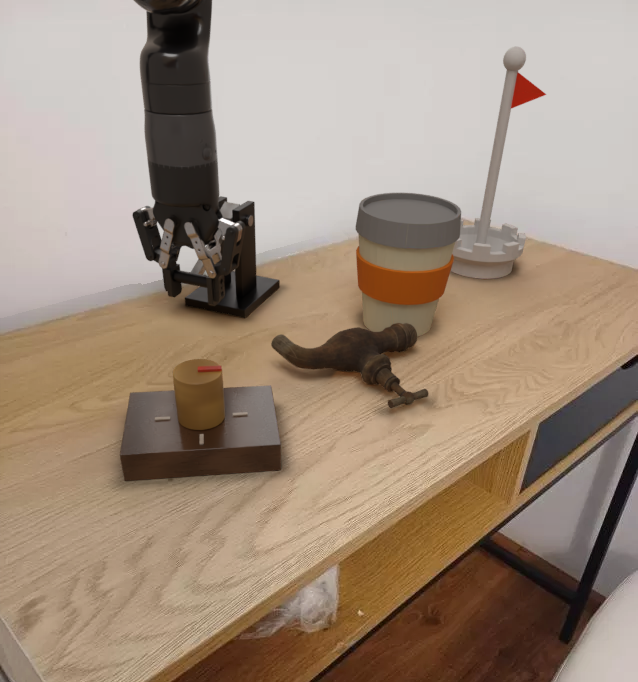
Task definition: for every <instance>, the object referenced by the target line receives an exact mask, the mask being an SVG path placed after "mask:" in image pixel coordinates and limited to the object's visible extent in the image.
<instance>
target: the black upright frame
mask: <svg viewBox="0 0 638 682" xmlns="http://www.w3.org/2000/svg"><path fill="white" fill-rule="evenodd" d="M224 202H228V197H227V196H221V195H219V202H218V206H219V209H221V207H222V206H223V204H224ZM255 205H256V203H255V201H253V200H247V201H245V202H243V203H241V204H240V206H238V207H236V208H235V209H233V210H232V218H233V223H236V222H238V221H242V222H243V223H244V224H245V233H244V238H243V244H242V250H241V255H240V261H239V266H238V268H236V269H235V270H234V271H232V272H231V273H230V274H228V275H226V276H225V275H224V285H225V286H224V287H225V296H224V298H223V299H222V300H221V301H220V302H219V303H218V304H217V305H216V306H212V305H209V304H208V294H207V288H204V287H199V286H198V287H197V288H196V289H194V290H193V291H192V292H190V293H189V294H187V295H186V296H185V297H184V306H186V307H191V308H194V309H199V310H204V311H209V312H213V313H219V314H224V315H227V316H232V317H236V318H241V319H246V318H247V317H248V316H249V315H251V313H253V312H254V311H255V310H256V309H257V308H258V307H260V305H262V304H263V303H264V302H265V301H266V300H267V299H268V298H270V297H271V295H273V294H274V293H275V292H276V291H278V290H279V288H280V279H277V278H271V277H267V276H261V275H257V249H256V248H257V247H256V246H257V245H256V244H257V243H256V208H255ZM220 246H221V251H220V253H221V256H222V253H223V247H224V240H223V241H222V243H221V245H220Z"/></svg>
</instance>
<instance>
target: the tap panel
mask: <svg viewBox="0 0 638 682" xmlns="http://www.w3.org/2000/svg"><path fill="white" fill-rule="evenodd" d="M223 389H224V404H225V418H224V420H223V421H222V423H221V424H219V425H218V426H216V427H213V428H211V429H206V430H192V429H188V428H186V427H184V426H182V425H181V424H180V423H179V421H178V416H177V408H176V399H175V391H174V389H173V390H155V391H153V390H152V391H135V392H134V391H133V392H130V393H129V397H128V402H127V408H126V414H125V421H124V427H123V433H122V439H121V444H120V445H121V446H120V451H119V458H120V463H121V468H122V474H123V479H124V481H125V482H128V481H131V482H132V481H142V480H159V479H173V478H186V477H201V476H214V475H229V474H243V473H256V472H271V471H272V472H273V471H274V472H275V471H281V470H282V441H281V436H280V430H279V424H278V423H279V422H278V419H277V418H278V417H277V412H276V406H275V399H274V393H273V387H272V385H251V386H249V385H248V386H231V387H223Z"/></svg>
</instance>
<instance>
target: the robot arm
mask: <svg viewBox="0 0 638 682" xmlns="http://www.w3.org/2000/svg"><path fill="white" fill-rule="evenodd" d="M133 2H134V3H135V4H137V5H138V6H139V7H140V8H141V9H143V10H144V11H146V34H147V35H146V41H145V44H144V46H143V47H142V49H141V51H140V53H139V54H140V55H139V75H140V85H141V94H142V101H143V109H144V110H143V112H144V113H143V114H144V125H143V127H144V128H143V129H144V143H145V150H146V157H147V167H148V175H149V185H150V193H151V197H152V199H153V201H154V204H153V207H151V205H150V206H149V205H145V206H143V207H140V208H138V209H137V210H135V211H132V219H133V222H134V225H135V229H136V231H137V232H136V233H137V235H138V238H139V240H140V244H141V247H142V250H143V253H144V256H145V259H146V260H147V261H149V262H155V263H157V264H158V265H159V267H160V268H161V273H162V281H163V289H164V291H165V292H167V296H168V297H169V298H173V299H174V298H176V297H179V295H181V293H182V291H183V283H180V282H175V281H174V280H173V272H174V271H175V270H181V265H180V263H177V262H178V260H179V256H180V253H181V248H182V247H187V248H189V249H192V250H194V252H195V255H196V257H197V260H198V259H199V260H201V261H202V262H203V265H204V267H205V272H206V276H208V277H206V281H207V294H208V304H209V305H212V306H216V305H217V304H218V303H219V302H220V301H221V300H222V299H223V298H224V296H225V287H224V286H225V285H224V275H225V276H226V275H228V274H230V273H231V272H232V271H235V269H236V268H238V266H239V261H240V255H241V250H242V244H243V238H244V233H245V224H244V223H243V222H242V221H238V222H236V223H233V222H231V221H229V220H226V219H224V218H223V216H222V213H221V211H220V209H219V206H218V202H219V197H220V177H219V161H218V145H217V129H216V124H215V120H214V114H213V99H212V98H213V97H212V81H211V80H212V79H211V71H210V63H209V61H210V60H209V54H210V53H209V52H210V43H211V34H212V33H211V31H212V14H213V0H133ZM158 225H159V226H160V228H161V229H162V231H163V233H162V236H161V234H160V230H159V227H158ZM218 229H220V230H221V233H222V237H221V238H222V240H224V247H223V253H222V256H221V253H220V251H221V246H220V244H219V241H218V238H217V236H216V232H217V231H218ZM207 244H208V248H207V249H206V246H207Z"/></svg>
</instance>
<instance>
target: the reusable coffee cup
mask: <svg viewBox="0 0 638 682" xmlns="http://www.w3.org/2000/svg"><path fill="white" fill-rule="evenodd" d="M461 219H462V210H461V207H460V206H459V205H457V204H456V203H454V202H452V201H450V200H447V199H446V198H442V197H438V196H435V195H430V194H423V193H415V192H385V193H378V194H374V195H370V196H367V197H364V198H363V199H361V201H360V202H359V204H358V211H357V216H356V222H355V231H356V233H357V234H358V235H357V236H358V246H357V247H356V249H355V257H356V258H355V259H356V274H357V287H358V289H359V290H360V291H361V305H362V322H363V325H364V326H365V327H366V328H367V330H370V331H373V332H380V331H383V330H384V329H385V328H387V327H390V326H391V325H392V324H395V323H402V324H404V323H408V324H411V325H412V326H413V327H414V328H415V329H416V332H417V338H418V337H420V336H424V335H426V334H427V333H429V331H430V330H431V327H432V324H433V320H434V317H435V313H436V310H437V307H438V303H439V300H440V299H441V298H442V297H443V296H444V294H445V291H446V288H447V286H448V285H447V284H448V281H449V277H450V274H451V268H452V264H453V261H454V257H453V254H452V252H453V249H454V245H455V242H456V241H457V240H458V239H459V237H460V226H461Z"/></svg>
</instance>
